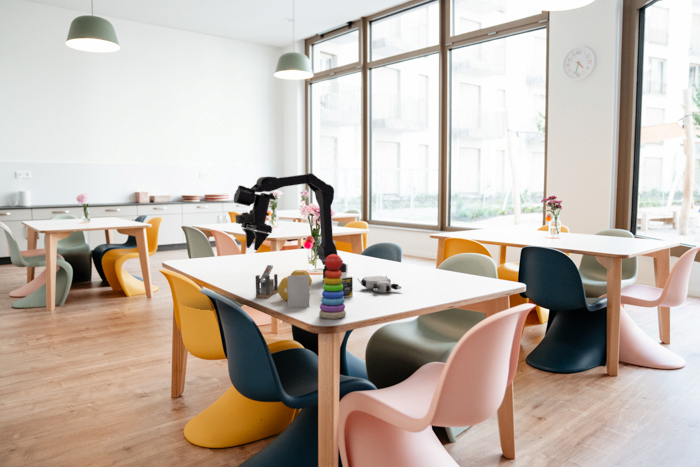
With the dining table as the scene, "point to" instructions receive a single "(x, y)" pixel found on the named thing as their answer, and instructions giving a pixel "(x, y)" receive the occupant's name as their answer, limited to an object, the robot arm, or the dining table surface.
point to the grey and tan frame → (266, 287)
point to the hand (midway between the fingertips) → (251, 249)
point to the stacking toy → (332, 290)
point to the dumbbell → (283, 284)
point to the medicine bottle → (346, 281)
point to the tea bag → (298, 291)
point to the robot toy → (378, 284)
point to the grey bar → (266, 273)
